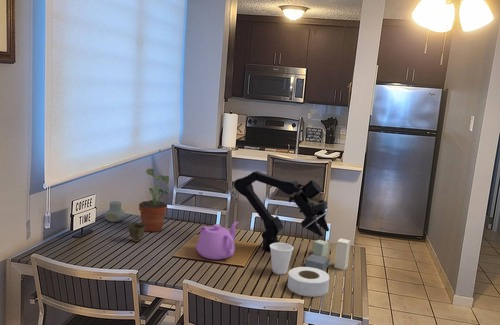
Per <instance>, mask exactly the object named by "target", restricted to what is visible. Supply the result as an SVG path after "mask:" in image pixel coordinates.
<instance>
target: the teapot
mask: <svg viewBox="0 0 500 325" xmlns="http://www.w3.org/2000/svg"><path fill="white" fill-rule="evenodd" d="M238 224H239V221H238V220H236V221H235V222H233V223H232V225H231V227H230V230H228V228H226V227H222V225H221V224H217V223H216V224H215V223H214V224H213V225H212V226H207V225H204V226H202V227H201V228H200V232H199V233H200V235H199V237H198V239H197V241H196V246H195V247H196V252H197V253H198V254H199V256H201V257H203V258H204V259H209V260H213V261H214V260H215V261H216V260H224V259H228V258H230V257H232V256H234V253H235V249H236V245H235V240H236V226H237V225H238Z"/></svg>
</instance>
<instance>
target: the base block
mask: <svg viewBox="0 0 500 325" xmlns="http://www.w3.org/2000/svg"><path fill="white" fill-rule="evenodd" d="M329 262H330V258H329V257H325V256H323V257H322V256H318V255H315V254H313V253H311V254H310V255H309V256H308V257H306V258H305V262H304V267H311V268H317V269H320V270H322V271H324V272H325V270H327V268H328V267H329V264H330V263H329Z"/></svg>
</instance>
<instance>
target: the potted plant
mask: <svg viewBox="0 0 500 325" xmlns="http://www.w3.org/2000/svg"><path fill="white" fill-rule="evenodd" d="M145 173H146V174H147V175H149V176H150V178H149V179H150V180H149V181H150V185H151V187H149V188H148V189H149V193H150V195H152V199H151V200H143V201H142V202H140V203H139V205H138V210H139V212H140V221H141V222H140V224H141V225H142V224H143V223H144V224H145V230H144V232H153V233H154V232H160V231H162V230H163V227H164V226H163V225H164V222H165V214H166V212H167V211H168V203H166V202H164V201H161V200H160V199H161V198H162V197H163V196H164V195H166V194H167V195H170V194H169V190H167V191H166V190H164V189H162V188H161V187H160V186H161V184H159V185H158V186H155V187H154V188H153V182H152V177H154V181H157V180H160V178H161V180H160V182H162V181H163V182H164V183H165V184H166V185H168V184H169V181H170V177H169V175H162V174H160V173H158V175H155V169H154V168H148V169H146V170H145ZM156 189H157V191H156ZM160 193H161V194H160Z"/></svg>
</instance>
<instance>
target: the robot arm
mask: <svg viewBox="0 0 500 325" xmlns="http://www.w3.org/2000/svg"><path fill="white" fill-rule="evenodd" d="M255 182H259V183H263V184H265V185H269V186H271V187H274V188H277V189H278V190H280V192H283V194H286V195H290V196H289V199H288V203H292V202H294V203H295V205H296V206H297V207H298V209H299V211H298V212H299V213H300V214H301V213H302V214H303V215H304V217H305V218H304V219H303V220H302V221H301V222H300V226H301V227H302V228H303V229H306V230H308V231H310V232H312V233H313V234H316V235H317V236H318V237H320V238H321V237H323V236H324V234H323V232H322V230H321V229H320V227H321V228H322V229H323V230H325V231H326V232H329V231H330V228H329V225H328V223H327V221H326V216H327V211H326V210H327V209H328V207H329V206H328V202H327V201H326V200H325V199H321V200H319V201H318V202H317V203H314V202H311V201H310V200H313V199H314V198H315V197H316V196H318V195H319V194H320V193H322V191H323V190H322V187H321V186H320V184H318V183H317V182H316V181H314V179H311V180H309V181H308V183H306V184H302V183H299V182H298V181H297V180H295V179H285V178H283V179H282V178H280V177H276V176H273V175H269V174H266V173H263V172H262V171H261V172H260V171H259V170H255V171H253V172H251V173H250V174H248V175H246V176H244V177H240V178H237V179H235V180H234V183H233V187H234V189H235V191H237V192H238V193H239V194H240V195H242V196H243V197H245V198H246V199H247V201H248V202H249V204H250V205H251V207H252V208H253V209H254V211H255V212H256V213H257V215H258V216H259V217H260V219H261V220H262V222H263V226H264V229H265V231H264V232H262V233H261V238H262V246H260V250H261V249H262V250H263V251H264V252H266V253H271V250H270V244H272V243H279V237H278V236H279V235H280V234H281V233H282V232H283V230H284V224H283V222H282V221H281V219H280V218H279V217H278V215H276V216H273V215H272V214H271V213H270V211H269V210H268V209H267V207H266V206H265V204H263V202H262V201H261V199H260V198H259V196H258V195H257V194H256V193H255V191H254V186H253V183H255ZM319 226H320V227H319Z"/></svg>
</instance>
